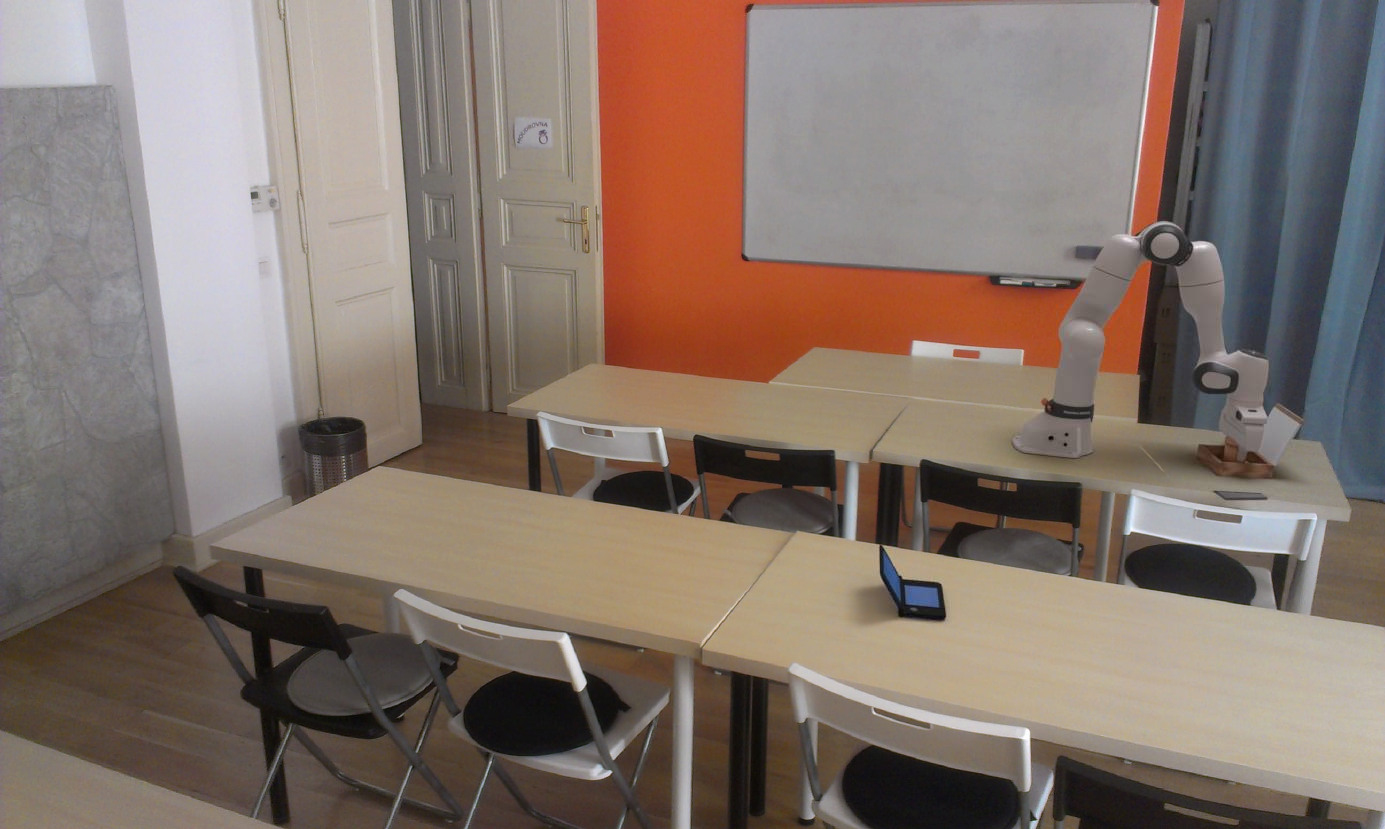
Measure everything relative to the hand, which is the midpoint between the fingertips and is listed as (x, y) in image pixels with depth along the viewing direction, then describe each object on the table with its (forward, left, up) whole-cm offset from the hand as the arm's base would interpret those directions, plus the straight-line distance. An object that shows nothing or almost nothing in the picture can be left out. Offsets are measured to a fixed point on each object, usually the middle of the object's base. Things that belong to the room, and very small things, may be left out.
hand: (1234, 456), depth 285 cm
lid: (+9, 0, +7) cm, 12 cm away
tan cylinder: (0, 0, -3) cm, 3 cm away
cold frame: (0, 0, -4) cm, 4 cm away
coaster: (-6, -18, -4) cm, 19 cm away
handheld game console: (-96, -93, -4) cm, 134 cm away
